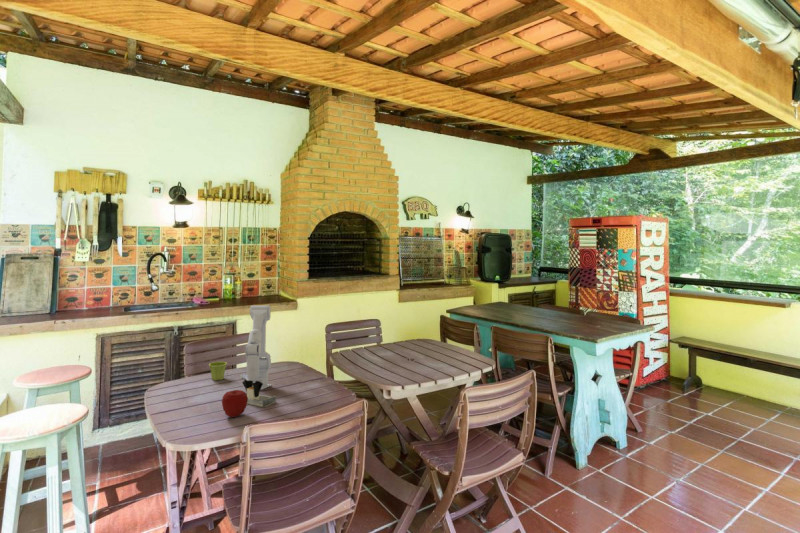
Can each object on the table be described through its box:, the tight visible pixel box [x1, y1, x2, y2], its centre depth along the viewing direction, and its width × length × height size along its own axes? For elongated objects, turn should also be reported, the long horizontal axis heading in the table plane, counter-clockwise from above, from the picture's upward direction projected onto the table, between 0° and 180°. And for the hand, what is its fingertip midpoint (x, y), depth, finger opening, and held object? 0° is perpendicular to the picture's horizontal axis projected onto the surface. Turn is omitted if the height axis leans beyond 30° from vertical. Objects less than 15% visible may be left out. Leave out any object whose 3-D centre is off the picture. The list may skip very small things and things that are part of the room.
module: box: [246, 386, 261, 400], centre depth 202 cm, size 4×4×6 cm
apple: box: [221, 389, 248, 418], centre depth 184 cm, size 11×11×12 cm
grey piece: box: [247, 394, 277, 409], centre depth 201 cm, size 15×8×3 cm, turn 66°
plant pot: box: [208, 361, 228, 381], centre depth 235 cm, size 9×9×9 cm
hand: (253, 395), depth 202 cm, fingers closed on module, 4 cm apart
